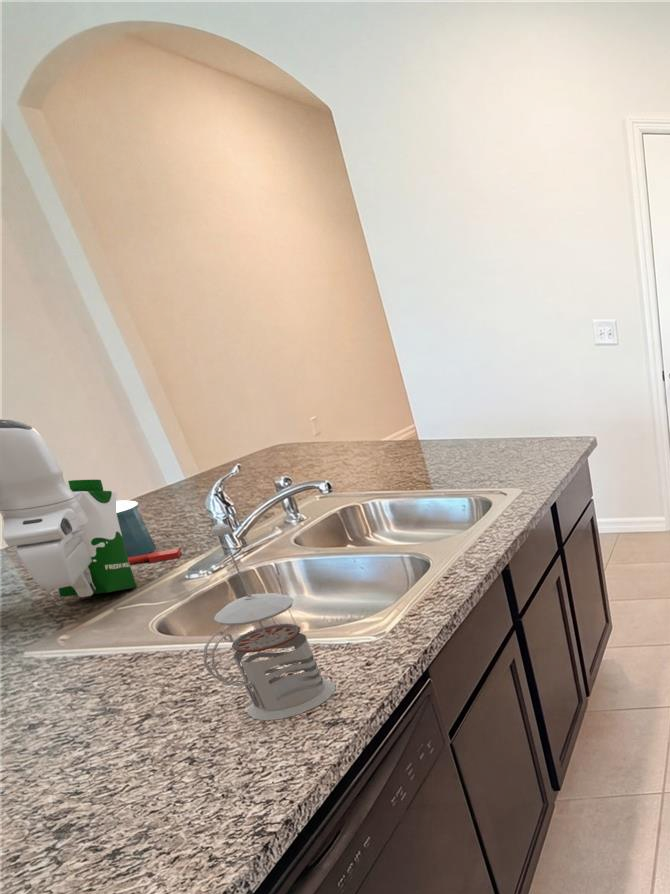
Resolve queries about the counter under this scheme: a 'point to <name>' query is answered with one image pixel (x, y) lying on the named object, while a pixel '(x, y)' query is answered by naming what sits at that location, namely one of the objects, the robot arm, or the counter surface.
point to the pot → (135, 534)
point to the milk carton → (102, 539)
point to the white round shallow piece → (125, 506)
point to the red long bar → (156, 556)
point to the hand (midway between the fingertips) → (88, 594)
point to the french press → (270, 655)
